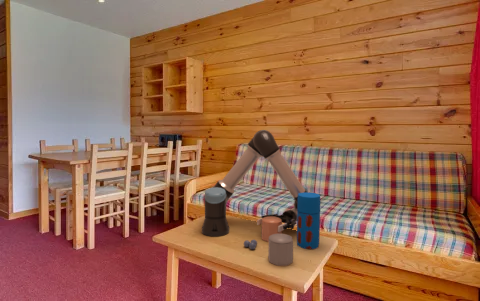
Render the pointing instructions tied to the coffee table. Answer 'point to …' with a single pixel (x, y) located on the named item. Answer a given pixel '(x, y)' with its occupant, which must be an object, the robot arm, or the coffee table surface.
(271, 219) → the octagonal lidded canister
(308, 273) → the coffee table surface
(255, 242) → the marble
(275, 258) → the brown octagonal jar
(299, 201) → the thermos
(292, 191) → the robot arm
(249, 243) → the marble
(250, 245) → the marble
